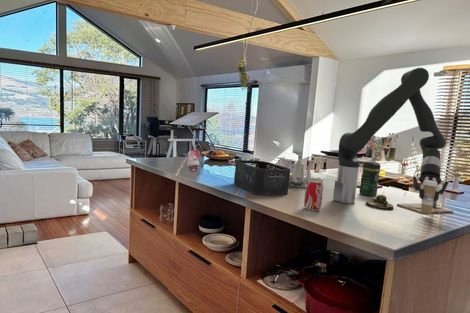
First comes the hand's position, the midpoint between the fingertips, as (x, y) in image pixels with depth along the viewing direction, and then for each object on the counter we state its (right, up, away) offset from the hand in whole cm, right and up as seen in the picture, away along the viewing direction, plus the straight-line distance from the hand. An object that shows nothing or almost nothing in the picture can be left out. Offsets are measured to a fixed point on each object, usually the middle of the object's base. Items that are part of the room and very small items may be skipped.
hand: (428, 199), depth 137 cm
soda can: (-49, -4, 0) cm, 49 cm away
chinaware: (-43, 0, +57) cm, 71 cm away
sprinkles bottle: (0, -6, +2) cm, 6 cm away
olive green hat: (-14, -6, +16) cm, 22 cm away
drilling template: (+9, -7, +19) cm, 22 cm away
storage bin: (-68, 0, +34) cm, 76 cm away
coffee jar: (-7, -4, +44) cm, 45 cm away
